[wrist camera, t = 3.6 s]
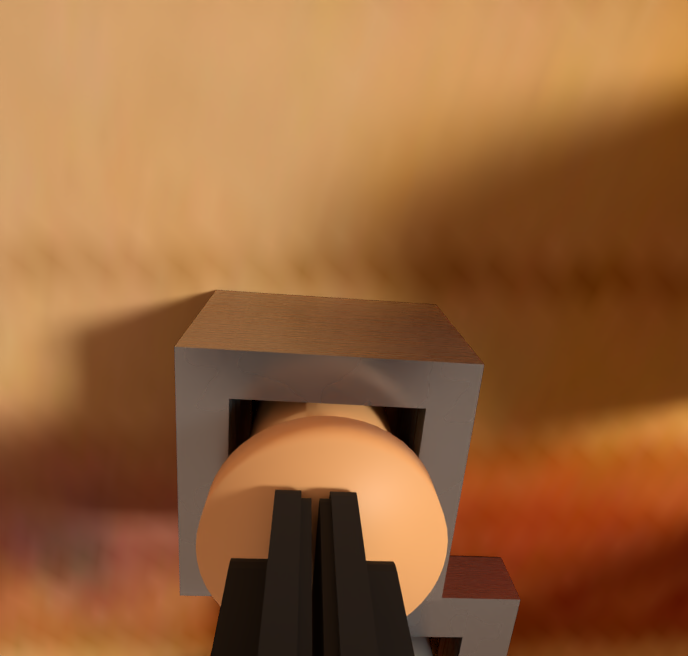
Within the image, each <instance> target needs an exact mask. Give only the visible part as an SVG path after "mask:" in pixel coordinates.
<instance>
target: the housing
mask: <svg viewBox="0 0 688 656" xmlns="http://www.w3.org/2000/svg"><path fill="white" fill-rule="evenodd" d="M174 352H175V396H176V440H177V484H178V528H179V572H180V595H187V596H212V595H211V594H210V592H209V591H208V589H207V587H206V586H205V583H204V581H203V579H202V577H201V574H200V571H199V567H198V563H197V556H196V537H197V530H198V526H199V522H200V518H201V515H202V512H203V509H204V506H205V503H206V500H207V496H208V493H209V490H210V487H211V485H212V483H213V480H214V478H215V476H216V474H217V472H218V471H219V469H220V468H221V466H222V464H223V463H224V462H225V461H226V460H227V458H228V457H229V456H230V455H231V454H232V453H233V452H234V451H235V450H236V449H237V448H238V447H239V446H240V445H241V444H242V443H244V442H245V441H247V440H248V439H250V435H251V408H252V400H266V401H286V402H305V403H325V404H345V405H364V406H384V407H387V408H386V415H387V419H388V423H389V426H390V430H391V434H393V435H394V436H395V437H397V438H398V439H400V440H401V441H403V442H404V443H405V444H406V445H407V446H408V447H409V448H410V449H411V450H412V451H413V452H414V453H415V454H416V455H417V456H418V458H419V459H420V460H421V461H422V463H423V465H424V466H425V468H426V470H427V471H428V473H429V475H430V478H431V480H432V483H433V486H434V488H435V491H436V494H437V497H438V499H439V502H440V505H441V508H442V511H443V513H444V517H445V521H446V526H447V536H448V544H447V554H446V558H445V562H444V566H443V569H442V571H441V574H440V576H439V578H438V580H437V582H436V584H435V585H434V587H433V589H432V590H431V592H430V593H429V594H428V596H427V597H426V598H425V599H424V601H441V599H442V593H443V588H444V583H445V577H446V572H447V566H448V561H449V555H450V550H451V544H452V539H453V533H454V528H455V522H456V517H457V511H458V506H459V501H460V495H461V490H462V484H463V479H464V473H465V468H466V462H467V457H468V451H469V446H470V440H471V435H472V429H473V424H474V418H475V413H476V408H477V402H478V397H479V391H480V386H481V380H482V375H483V369H484V363H483V362H482V361H481V360H480V359H479V357H478V356H477V355H476V354H475V352H474V351H473V350H472V349H471V347H470V346H469V345H468V344H467V342H466V341H465V340H464V339H463V337H462V336H461V335H460V334H459V333H458V331H457V330H456V329H455V328H454V326H453V325H452V324H451V323H450V321H449V320H448V319H447V318H446V316H445V315H444V314H443V313H442V311H441V310H440V309H439V308H438V307H437V305H433V304H418V303H403V302H388V301H373V300H358V299H343V298H328V297H313V296H298V295H283V294H268V293H253V292H238V291H223V290H216V291H215V292H214V294H213V295H212V296H211V298H210V299H209V300H208V302H207V303H206V304H205V306H204V307H203V309H202V310H201V311H200V313H199V314H198V315H197V317H196V318H195V319H194V321H193V322H192V323H191V325H190V326H189V327H188V329H187V330H186V332H185V333H184V334H183V336H182V337H181V338H180V340H179V341H178V342H177V344H176V345H175V346H174Z"/></svg>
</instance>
